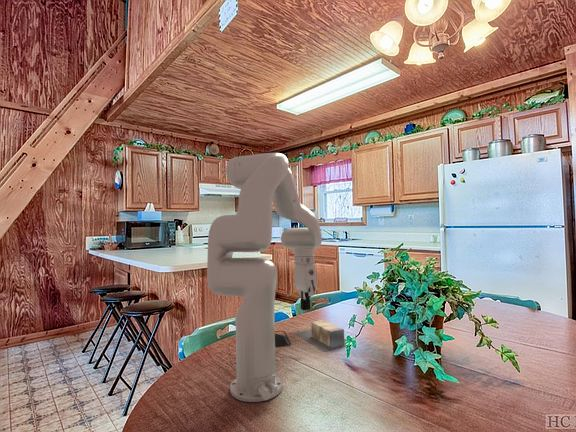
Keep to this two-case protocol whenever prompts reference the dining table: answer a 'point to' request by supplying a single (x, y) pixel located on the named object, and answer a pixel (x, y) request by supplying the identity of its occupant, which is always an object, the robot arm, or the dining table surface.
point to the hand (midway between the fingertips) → (305, 309)
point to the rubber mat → (316, 341)
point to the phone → (281, 340)
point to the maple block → (327, 333)
